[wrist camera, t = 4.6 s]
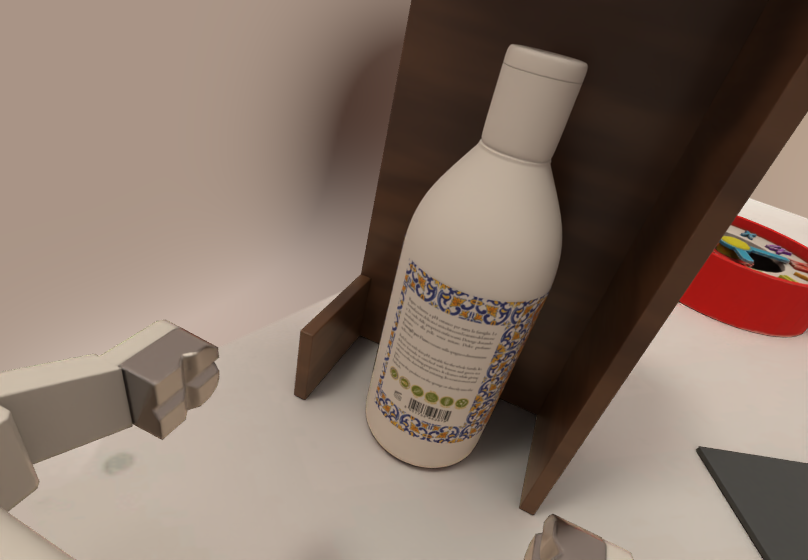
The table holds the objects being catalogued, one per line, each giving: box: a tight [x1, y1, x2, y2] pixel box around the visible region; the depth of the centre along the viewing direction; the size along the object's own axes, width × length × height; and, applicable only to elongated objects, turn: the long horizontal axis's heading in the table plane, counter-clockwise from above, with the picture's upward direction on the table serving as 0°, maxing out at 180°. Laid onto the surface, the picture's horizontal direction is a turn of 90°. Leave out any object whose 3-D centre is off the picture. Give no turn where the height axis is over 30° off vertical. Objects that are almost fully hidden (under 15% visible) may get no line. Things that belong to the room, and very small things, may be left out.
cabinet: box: [294, 0, 808, 515], centre depth 20 cm, size 8×15×27 cm, turn 68°
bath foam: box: [366, 44, 588, 468], centre depth 21 cm, size 7×7×20 cm
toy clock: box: [679, 216, 808, 337], centre depth 51 cm, size 20×6×20 cm
